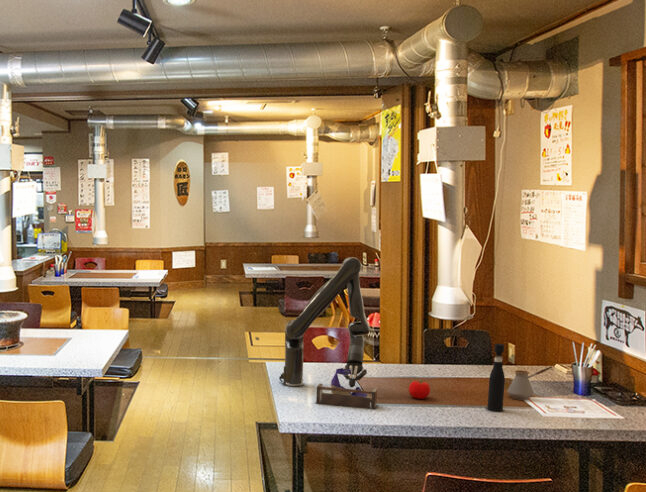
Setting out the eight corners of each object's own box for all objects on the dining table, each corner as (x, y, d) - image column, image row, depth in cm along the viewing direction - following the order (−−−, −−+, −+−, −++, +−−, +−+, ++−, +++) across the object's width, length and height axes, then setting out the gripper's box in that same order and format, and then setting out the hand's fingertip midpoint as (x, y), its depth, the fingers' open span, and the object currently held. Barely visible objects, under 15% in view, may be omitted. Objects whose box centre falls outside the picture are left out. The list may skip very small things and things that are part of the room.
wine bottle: (484, 407, 343) (488, 343, 338) (498, 407, 344) (502, 343, 339) (491, 411, 337) (496, 346, 332) (505, 411, 338) (510, 345, 333)
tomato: (404, 397, 361) (405, 380, 360) (417, 394, 367) (418, 377, 366) (421, 401, 354) (422, 384, 353) (434, 398, 360) (435, 381, 359)
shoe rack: (316, 403, 352) (316, 386, 351) (319, 399, 358) (319, 383, 357) (374, 409, 342) (375, 392, 341) (376, 405, 349) (377, 388, 347)
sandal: (373, 402, 353) (375, 371, 351) (330, 401, 356) (331, 370, 353) (371, 397, 361) (372, 367, 359) (329, 396, 364) (330, 366, 361)
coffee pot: (515, 401, 354) (517, 370, 351) (502, 395, 365) (504, 365, 362) (557, 400, 356) (560, 369, 354) (543, 393, 367) (545, 363, 365)
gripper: (341, 351, 369) (336, 381, 359) (368, 352, 364) (365, 383, 355) (342, 359, 374) (338, 389, 365) (369, 361, 370) (366, 391, 361)
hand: (351, 386), depth 360 cm, fingers closed
